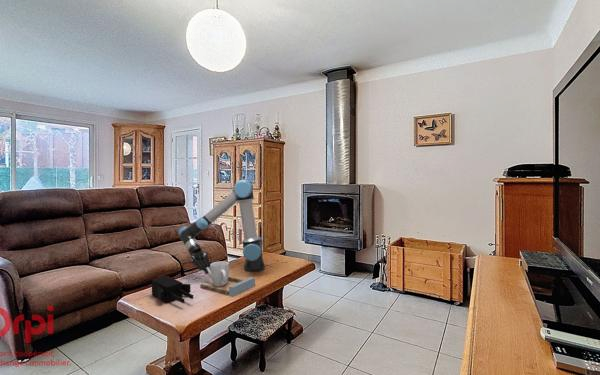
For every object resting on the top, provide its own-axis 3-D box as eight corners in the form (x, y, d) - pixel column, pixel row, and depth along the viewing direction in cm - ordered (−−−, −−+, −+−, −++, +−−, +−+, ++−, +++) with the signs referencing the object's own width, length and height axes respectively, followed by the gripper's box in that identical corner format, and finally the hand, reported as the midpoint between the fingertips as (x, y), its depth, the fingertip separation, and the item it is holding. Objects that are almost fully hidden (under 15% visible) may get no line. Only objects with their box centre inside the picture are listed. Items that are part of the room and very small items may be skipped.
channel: (200, 288, 176) (200, 284, 176) (224, 278, 192) (223, 275, 192) (228, 295, 164) (227, 291, 164) (250, 284, 180) (250, 281, 180)
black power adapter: (203, 303, 157) (174, 289, 175) (203, 286, 156) (174, 273, 175) (173, 314, 144) (145, 297, 162) (173, 296, 143) (145, 281, 162)
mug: (234, 287, 177) (233, 265, 176) (216, 291, 170) (215, 268, 170) (225, 280, 189) (225, 260, 189) (208, 284, 183) (207, 263, 182)
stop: (229, 295, 164) (228, 286, 164) (251, 285, 180) (251, 277, 179) (233, 296, 162) (232, 287, 162) (254, 286, 178) (254, 277, 178)
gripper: (199, 249, 199) (216, 277, 191) (182, 253, 188) (200, 283, 180) (204, 242, 196) (222, 270, 188) (187, 245, 185) (205, 276, 177)
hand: (211, 277), depth 184 cm, fingers closed
